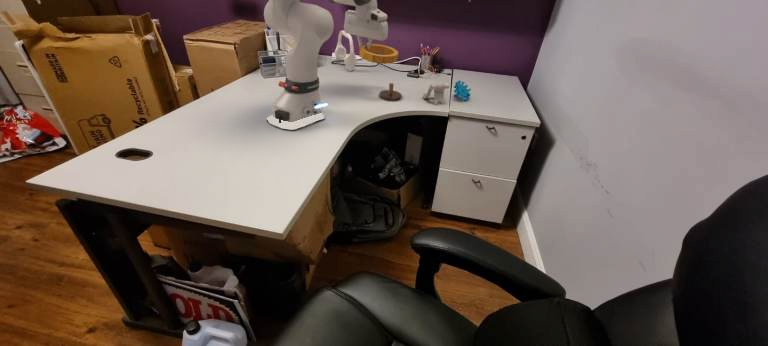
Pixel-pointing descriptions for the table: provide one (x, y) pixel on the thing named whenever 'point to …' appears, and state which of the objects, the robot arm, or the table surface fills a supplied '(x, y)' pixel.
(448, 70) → the table surface
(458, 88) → the gear
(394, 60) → the mustard ring
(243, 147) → the table surface
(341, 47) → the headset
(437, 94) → the tablet stand
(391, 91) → the ring stand
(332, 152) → the table surface
